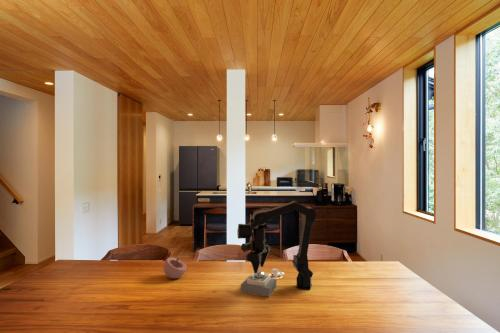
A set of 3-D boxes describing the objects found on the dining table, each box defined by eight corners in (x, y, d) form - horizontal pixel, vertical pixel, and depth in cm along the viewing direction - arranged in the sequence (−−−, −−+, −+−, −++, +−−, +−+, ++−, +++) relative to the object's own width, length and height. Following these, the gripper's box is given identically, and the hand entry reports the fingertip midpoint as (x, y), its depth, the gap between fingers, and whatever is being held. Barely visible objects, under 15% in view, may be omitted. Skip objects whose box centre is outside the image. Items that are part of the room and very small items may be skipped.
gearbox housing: (276, 286, 153) (276, 274, 152) (269, 297, 141) (269, 284, 141) (249, 283, 157) (249, 271, 157) (241, 292, 146) (241, 280, 146)
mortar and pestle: (183, 282, 159) (183, 260, 158) (160, 282, 159) (160, 260, 159) (188, 273, 171) (188, 253, 170) (167, 273, 171) (167, 253, 171)
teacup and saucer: (284, 274, 170) (284, 267, 170) (284, 280, 162) (284, 272, 162) (268, 273, 171) (268, 266, 171) (267, 279, 163) (267, 271, 163)
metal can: (266, 286, 151) (265, 270, 151) (263, 291, 146) (263, 274, 146) (256, 285, 153) (255, 269, 152) (253, 290, 148) (252, 273, 147)
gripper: (250, 232, 160) (249, 261, 161) (235, 240, 143) (235, 274, 143) (270, 233, 156) (270, 264, 157) (258, 243, 139) (258, 277, 139)
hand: (258, 269), depth 149 cm, fingers open, 9 cm apart
